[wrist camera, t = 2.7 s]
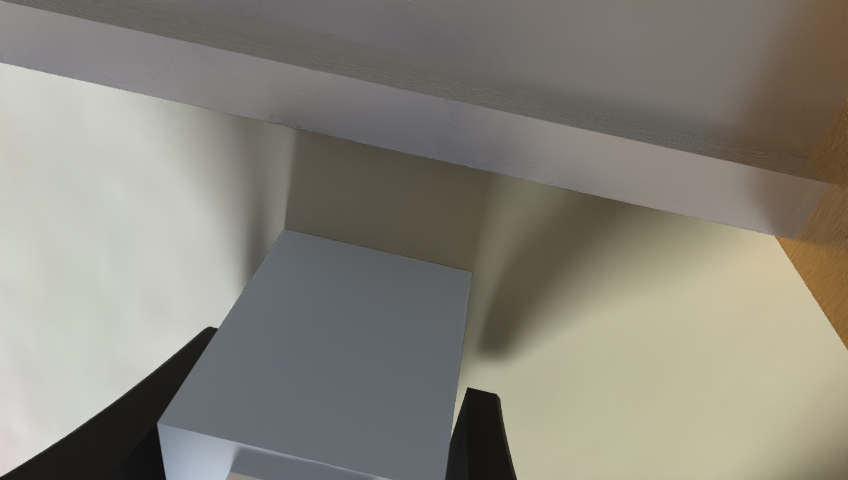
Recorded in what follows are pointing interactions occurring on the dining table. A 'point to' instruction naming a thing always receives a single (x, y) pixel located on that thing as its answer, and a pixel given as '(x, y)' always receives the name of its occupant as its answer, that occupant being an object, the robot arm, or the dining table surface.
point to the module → (325, 371)
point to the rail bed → (517, 93)
